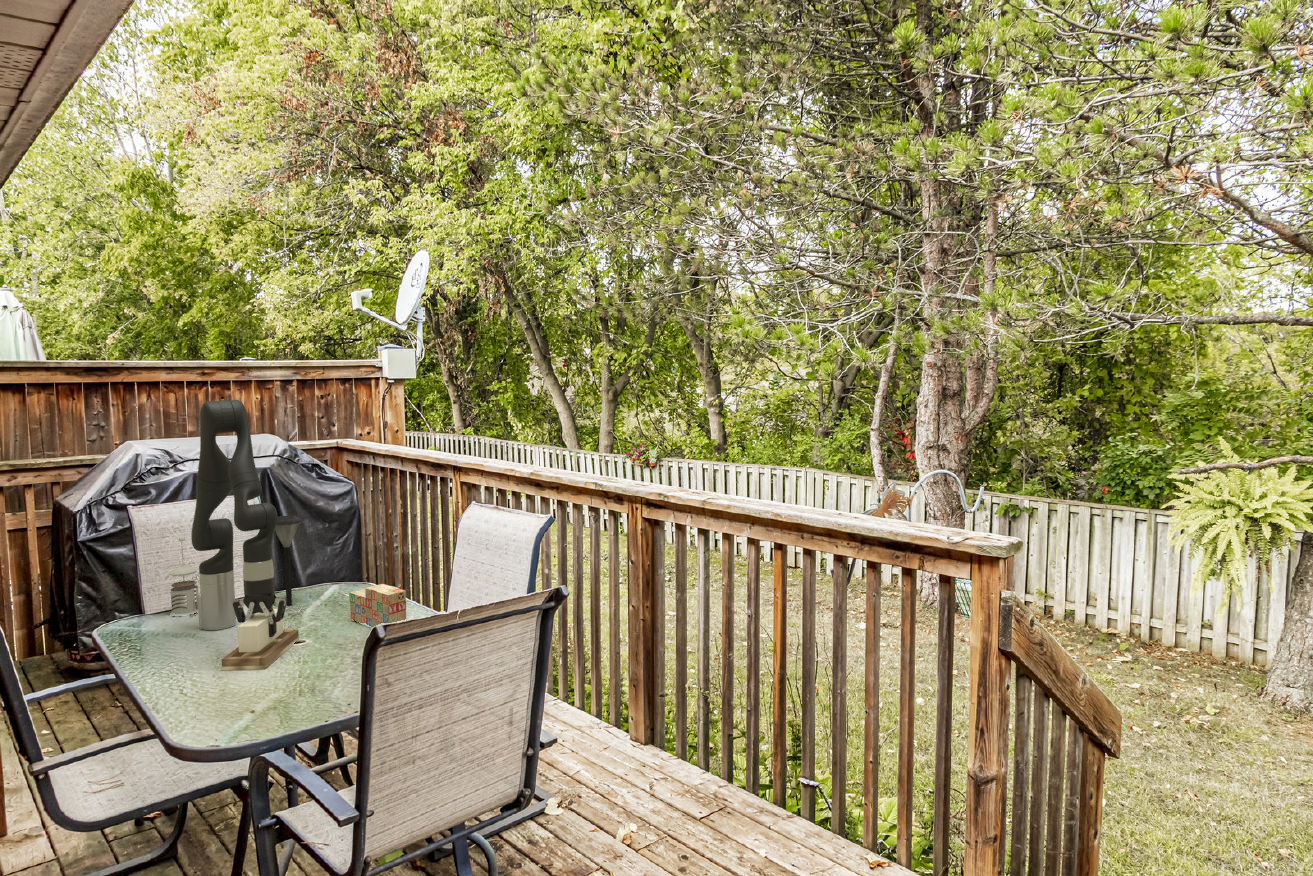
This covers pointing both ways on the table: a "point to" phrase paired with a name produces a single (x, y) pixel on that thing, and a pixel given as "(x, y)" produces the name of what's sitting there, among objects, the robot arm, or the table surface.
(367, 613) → the stack of blocks
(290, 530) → the solar garden light
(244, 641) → the block
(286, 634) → the wooden serving tray
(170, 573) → the french press
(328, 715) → the table surface
